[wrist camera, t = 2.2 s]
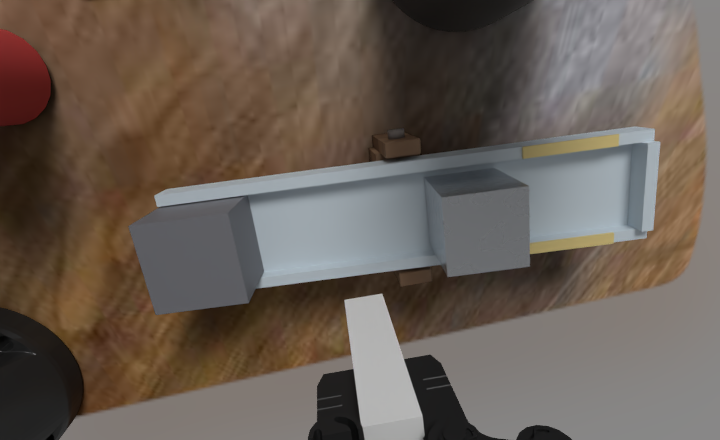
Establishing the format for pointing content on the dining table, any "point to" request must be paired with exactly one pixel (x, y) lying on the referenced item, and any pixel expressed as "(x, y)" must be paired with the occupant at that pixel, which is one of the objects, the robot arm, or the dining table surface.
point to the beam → (381, 216)
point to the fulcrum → (392, 148)
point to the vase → (458, 12)
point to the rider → (478, 221)
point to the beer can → (21, 81)
